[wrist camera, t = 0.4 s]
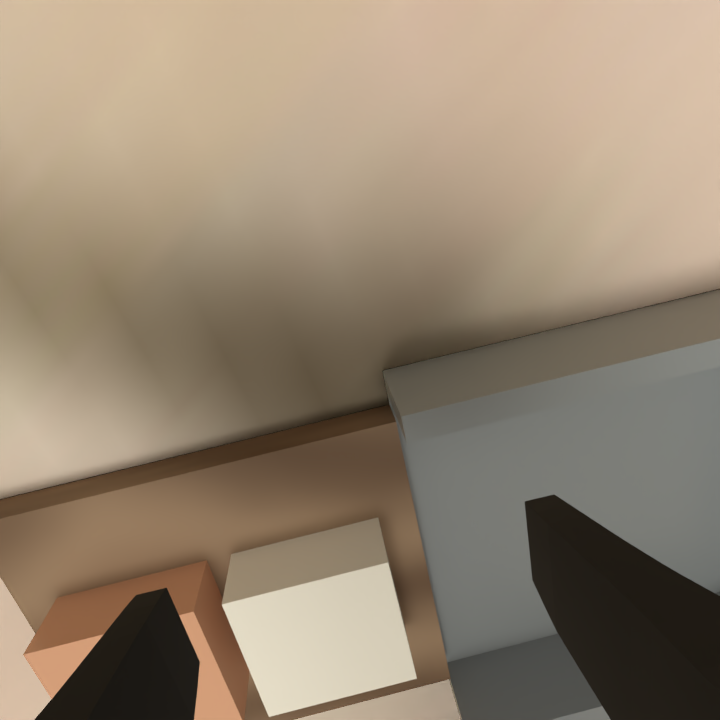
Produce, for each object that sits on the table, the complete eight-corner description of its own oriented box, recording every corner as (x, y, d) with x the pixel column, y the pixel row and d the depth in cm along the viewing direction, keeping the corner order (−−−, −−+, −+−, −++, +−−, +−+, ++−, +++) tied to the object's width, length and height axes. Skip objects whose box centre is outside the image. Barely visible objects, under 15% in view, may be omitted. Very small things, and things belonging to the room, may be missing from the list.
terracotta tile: (250, 664, 22) (243, 723, 19) (115, 699, 22) (92, 762, 19) (206, 560, 20) (193, 611, 17) (56, 597, 19) (23, 654, 17)
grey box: (762, 589, 26) (840, 658, 22) (446, 671, 25) (471, 756, 22) (795, 270, 20) (910, 291, 16) (382, 370, 19) (401, 416, 16)
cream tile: (404, 625, 22) (417, 678, 20) (272, 659, 22) (268, 716, 19) (377, 517, 20) (388, 562, 17) (231, 553, 20) (221, 604, 17)
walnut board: (442, 650, 25) (450, 678, 23) (127, 731, 24) (116, 765, 23) (389, 404, 20) (395, 421, 18) (-7, 501, 19) (-31, 526, 18)
